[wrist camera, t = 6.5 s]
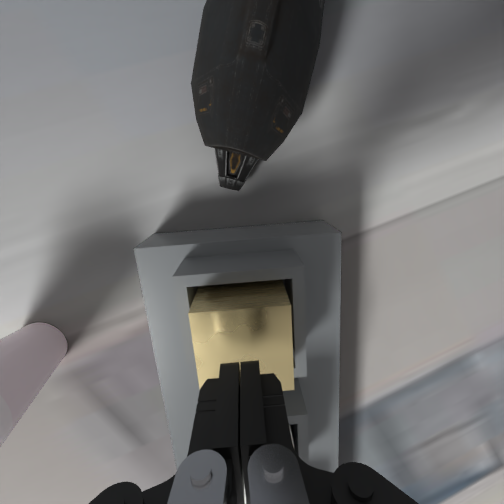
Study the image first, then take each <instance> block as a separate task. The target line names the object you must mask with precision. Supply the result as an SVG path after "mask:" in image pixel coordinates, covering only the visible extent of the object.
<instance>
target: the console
mask: <svg viewBox="0 0 504 504" xmlns="http://www.w3.org/2000/svg"><path fill="white" fill-rule="evenodd" d="M134 254H135V259H136V264H137V269H138V274H139V279H140V284H141V289H142V294H143V300H144V305H145V310H146V315H147V320H148V325H149V330H150V335H151V340H152V346H153V351H154V356H155V361H156V366H157V371H158V376H159V381H160V387H161V392H162V397H163V402H164V407H165V412H166V417H167V422H168V427H169V433H170V438H171V443H172V448H173V453H174V458H175V463H176V468H177V469H178V467H179V466H180V464H181V463H182V461H183V460H184V459H185V458H187V455H188V450H189V445H190V439H191V434H192V429H193V423H194V418H195V414H196V407H197V404H198V396H199V391H200V388H199V382H198V375H197V369H196V362H195V355H194V349H193V342H192V335H191V329H190V322H189V315H188V313H189V310H190V307H191V305H192V302H193V299H194V297H195V294H196V291H197V289H198V286H206V285H218V284H230V283H243V282H255V281H268V280H280V279H282V281H283V284H284V287H285V289H286V292H287V295H288V298H289V301H290V304H291V316H292V342H293V367H294V390H288V391H283V396H284V401H285V407H286V412H287V417H288V423H289V425H290V427H291V432H292V438H293V443H294V449H295V452H296V453H297V455H298V456H299V457H300V458H301V459H302V460H303V461H304V462H305V463H307V464H308V465H310V466H312V467H314V468H317V469H321V470H325V471H329V472H333V473H334V472H335V470H336V469H337V468H338V451H339V376H340V301H341V232H340V231H339V230H337V229H336V228H334V227H332V226H331V225H329V224H328V223H326V222H325V221H323V220H321V221H308V222H296V223H283V224H270V225H257V226H245V227H232V228H219V229H207V230H194V231H181V232H168V233H156V234H153V235H152V236H150V237H149V238H147V239H146V240H145V241H143V242H142V243H141V244H139V245H138V246H137V247H135V248H134Z"/></svg>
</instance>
